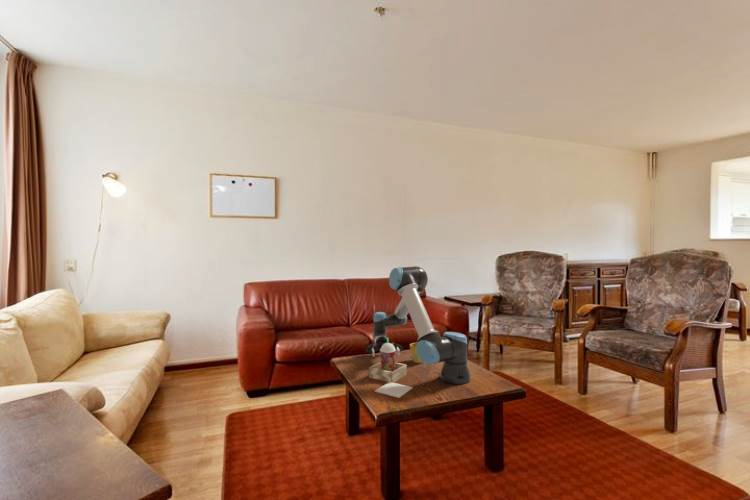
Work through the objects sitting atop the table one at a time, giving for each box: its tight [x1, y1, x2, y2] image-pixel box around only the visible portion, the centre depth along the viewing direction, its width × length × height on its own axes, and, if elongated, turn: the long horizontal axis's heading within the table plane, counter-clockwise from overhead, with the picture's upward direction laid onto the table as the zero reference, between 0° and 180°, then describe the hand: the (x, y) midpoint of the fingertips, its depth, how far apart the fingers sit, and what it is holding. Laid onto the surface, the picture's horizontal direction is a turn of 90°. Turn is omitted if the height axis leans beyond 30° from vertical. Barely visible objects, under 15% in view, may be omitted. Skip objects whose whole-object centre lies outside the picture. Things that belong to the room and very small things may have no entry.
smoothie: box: [379, 337, 397, 372], centre depth 193 cm, size 8×8×20 cm
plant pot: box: [409, 342, 423, 364], centre depth 216 cm, size 10×10×10 cm
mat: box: [374, 382, 414, 399], centre depth 175 cm, size 13×13×1 cm
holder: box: [368, 361, 408, 383], centre depth 193 cm, size 14×14×5 cm
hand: (386, 353), depth 196 cm, fingers open, 13 cm apart
